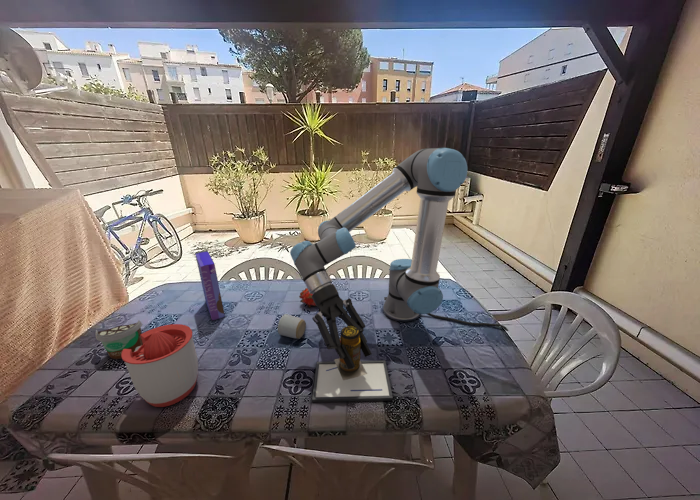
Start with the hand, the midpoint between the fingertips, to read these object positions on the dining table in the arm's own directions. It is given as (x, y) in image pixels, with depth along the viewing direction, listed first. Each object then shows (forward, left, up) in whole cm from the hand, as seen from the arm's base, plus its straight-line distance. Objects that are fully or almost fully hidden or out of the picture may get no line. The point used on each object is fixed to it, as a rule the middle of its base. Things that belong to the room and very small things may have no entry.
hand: (360, 361), depth 76 cm
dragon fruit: (+18, -45, -9) cm, 49 cm away
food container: (+78, -15, -9) cm, 80 cm away
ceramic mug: (+23, -25, -9) cm, 35 cm away
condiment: (+3, -2, -4) cm, 6 cm away
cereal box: (+60, -42, -9) cm, 74 cm away
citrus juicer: (+54, 0, -9) cm, 55 cm away
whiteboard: (+2, -2, -9) cm, 9 cm away
